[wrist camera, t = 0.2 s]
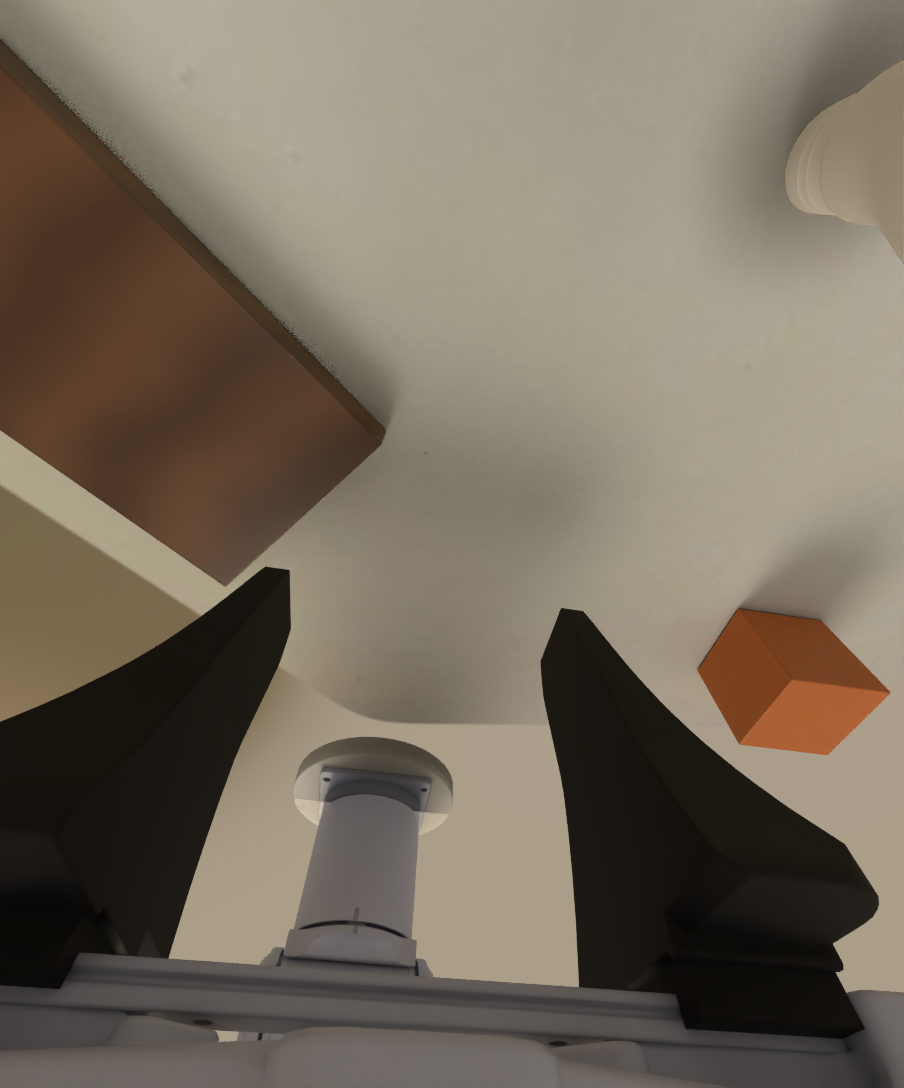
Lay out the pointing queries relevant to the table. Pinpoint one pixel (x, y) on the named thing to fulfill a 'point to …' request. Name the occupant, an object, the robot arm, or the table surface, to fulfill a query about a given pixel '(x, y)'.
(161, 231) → the board
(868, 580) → the table surface
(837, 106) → the lightbulb
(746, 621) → the block
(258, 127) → the table surface
